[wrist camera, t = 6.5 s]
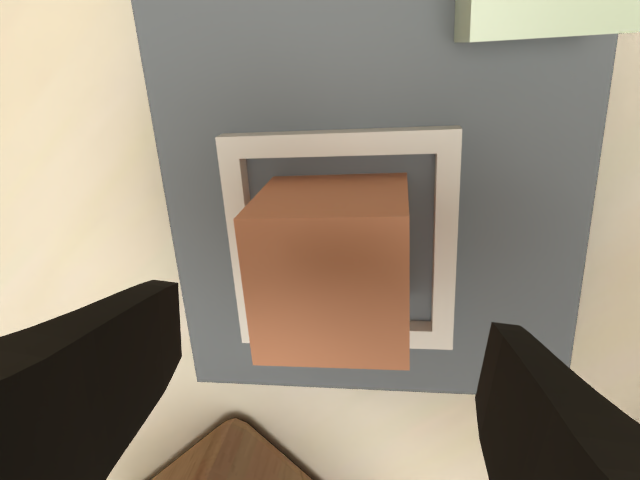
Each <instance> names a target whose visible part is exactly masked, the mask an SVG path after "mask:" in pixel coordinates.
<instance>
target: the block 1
mask: <svg viewBox="0 0 640 480" xmlns="http://www.w3.org/2000/svg"><path fill="white" fill-rule="evenodd" d="M151 480H312V479H311V478H310V477H309V476H308V475H306V474H305V473H304V472H303V471H302V470H301V469H300V468H298V467H297V466H296V465H295V464H294V463H293V462H291V461H290V460H289V459H288V458H287V457H286V456H285V455H283V454H282V453H281V452H280V451H279V450H278V449H276V448H275V447H274V446H273V445H272V444H271V443H270V442H268V441H267V440H266V439H265V438H264V437H263V436H261V435H260V434H259V433H258V432H257V431H256V430H255V429H253V428H252V427H251V426H250V425H249V424H248V423H246V422H244V421H241V420H239V419H236V418H234V419H230V420H227V421H225V422H224V423H222V424H221V425H220V426H218V427H217V428H216V429H214V430H213V431H212V432H210V433H209V434H208V435H207V436H205V437H204V438H203V439H202V440H200V441H199V442H198V443H197V444H195V445H194V446H193V447H192V448H190V449H189V450H188V451H187V452H185V453H184V454H183V455H181V456H180V457H179V458H178V459H176V460H175V461H174V462H173V463H171V464H170V465H169V466H168V467H166V468H165V469H164V470H163V471H161V472H160V473H159V474H158V475H156V476H155V477H154V478H152V479H151Z"/></svg>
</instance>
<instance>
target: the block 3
mask: <svg viewBox="0 0 640 480" xmlns="http://www.w3.org/2000/svg"><path fill="white" fill-rule="evenodd" d="M635 32H640V0H455V25H454V42H484V41H501V40H517V39H534V38H551V37H568V36H584V35H601V34H618V33H635Z"/></svg>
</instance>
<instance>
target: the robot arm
mask: <svg viewBox="0 0 640 480" xmlns="http://www.w3.org/2000/svg"><path fill="white" fill-rule="evenodd" d="M181 357H182V351H181V332H180V313H179V294H178V283H175V282H167V281H158V280H151V281H148V282H144V283H141V284H139V285H136V286H133V287H131V288H128V289H126V290H123V291H121V292H118V293H116V294H114V295H111V296H109V297H106V298H104V299H102V300H99V301H97V302H94V303H92V304H90V305H87V306H85V307H82V308H80V309H77V310H75V311H72V312H70V313H67V314H64V315H62V316H59V317H56V318H54V319H51V320H48V321H46V322H43V323H40V324H38V325H35V326H32V327H30V328H27V329H24V330H21V331H18V332H15V333H11V334H8V335H5V336H2V337H0V480H106V479H107V477H108V475H109V474H110V472H111V471H112V469H113V468H114V466H115V465H116V463H117V462H118V460H119V459H120V457H121V456H122V454H123V453H124V451H125V450H126V449H127V447H128V446H129V444H130V443H131V441H132V440H133V438H134V437H135V435H136V434H137V432H138V431H139V429H140V428H141V426H142V425H143V424H144V422H145V421H146V419H147V418H148V416H149V415H150V413H151V412H152V410H153V409H154V407H155V406H156V404H157V403H158V401H159V400H160V398H161V396H162V395H163V393H164V392H165V390H166V388H167V386H168V384H169V382H170V380H171V378H172V376H173V374H174V372H175V370H176V368H177V365H178V363H179V361H180V359H181ZM475 401H476V411H477V422H478V430H479V439H480V443H481V447H482V452H483V456H484V460H485V464H486V468H487V472H488V476H489V480H640V424H639V423H638V422H636V421H635V420H634V419H632V418H631V417H629V416H628V415H627V414H625V413H624V412H623V411H621V410H620V409H619V408H618V407H616V406H615V405H614V404H612V403H611V402H610V401H609V400H607V399H606V398H605V397H603V396H602V395H601V394H600V393H598V392H597V391H596V390H595V389H593V388H592V387H591V386H590V385H589V384H587V383H586V382H585V381H584V380H583V379H581V378H580V377H579V376H578V375H577V374H576V373H574V372H573V371H572V370H571V369H570V368H569V367H568V366H566V365H565V364H564V363H563V362H562V361H561V360H560V359H559V358H557V357H556V356H555V355H554V354H553V353H552V352H551V351H550V350H549V349H547V348H546V347H545V346H544V345H543V344H542V343H541V342H540V341H539V340H537V339H536V338H535V337H534V336H533V335H532V334H531V333H529V332H528V331H527V330H526V329H525V328H523V327H522V326H520V325H513V324H505V323H497V322H491V327H490V331H489V336H488V341H487V345H486V350H485V355H484V359H483V364H482V368H481V373H480V378H479V382H478V387H477V392H476V396H475Z"/></svg>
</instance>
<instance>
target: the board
mask: <svg viewBox="0 0 640 480" xmlns="http://www.w3.org/2000/svg"><path fill="white" fill-rule="evenodd" d="M131 3H132V9H133V14H134V20H135V26H136V32H137V37H138V43H139V49H140V55H141V60H142V66H143V72H144V78H145V83H146V89H147V95H148V100H149V106H150V112H151V118H152V123H153V129H154V135H155V141H156V146H157V152H158V158H159V164H160V169H161V175H162V181H163V187H164V192H165V198H166V204H167V210H168V215H169V221H170V227H171V233H172V238H173V244H174V250H175V256H176V261H177V267H178V273H179V279H180V284H181V290H182V296H183V302H184V307H185V313H186V319H187V324H188V330H189V336H190V342H191V347H192V353H193V359H194V365H195V370H196V376H197V382H216V383H238V384H259V385H281V386H303V387H324V388H346V389H368V390H389V391H411V392H432V393H454V394H476V392H477V387H478V382H479V378H480V373H481V368H482V364H483V359H484V355H485V350H486V345H487V341H488V336H489V331H490V327H491V322H497V323H505V324H513V325H520V326H522V327H523V328H525V329H526V330H527V331H528V332H529V333H531V334H532V335H533V336H534V337H535V338H536V339H537V340H539V341H540V342H541V343H542V344H543V345H544V346H545V347H546V348H547V349H549V350H550V351H551V352H552V353H553V354H554V355H555V356H556V357H557V358H559V359H560V360H561V361H562V362H563V363H564V364H565V365H566V366H568V367H569V368H570V363H571V356H572V349H573V342H574V335H575V329H576V322H577V315H578V308H579V301H580V294H581V287H582V280H583V273H584V266H585V260H586V253H587V246H588V239H589V232H590V225H591V218H592V211H593V204H594V197H595V190H596V184H597V177H598V170H599V163H600V156H601V149H602V142H603V135H604V128H605V121H606V115H607V108H608V101H609V94H610V87H611V80H612V73H613V66H614V59H615V52H616V45H617V39H618V34H601V35H584V36H568V37H551V38H534V39H517V40H501V41H484V42H454V25H455V0H131ZM375 173H407V183H408V200H409V230H410V371H409V370H379V369H349V368H318V367H288V366H258V365H253V363H252V356H251V348H250V341H249V333H248V326H247V318H246V311H245V303H244V296H243V288H242V281H241V273H240V266H239V258H238V251H237V243H236V236H235V228H234V221H233V219H234V218H235V217H236V216H237V215H238V214H239V212H240V211H241V210H242V209H243V208H244V207H245V206H246V205H247V204H248V203H249V202H250V201H251V200H252V199H253V198H254V196H255V195H256V194H257V193H258V192H259V191H260V190H261V189H262V188H263V187H264V186H265V185H266V184H267V183H268V182H269V180H270V179H271V178H272V177H273V176H305V175H340V174H375Z"/></svg>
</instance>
